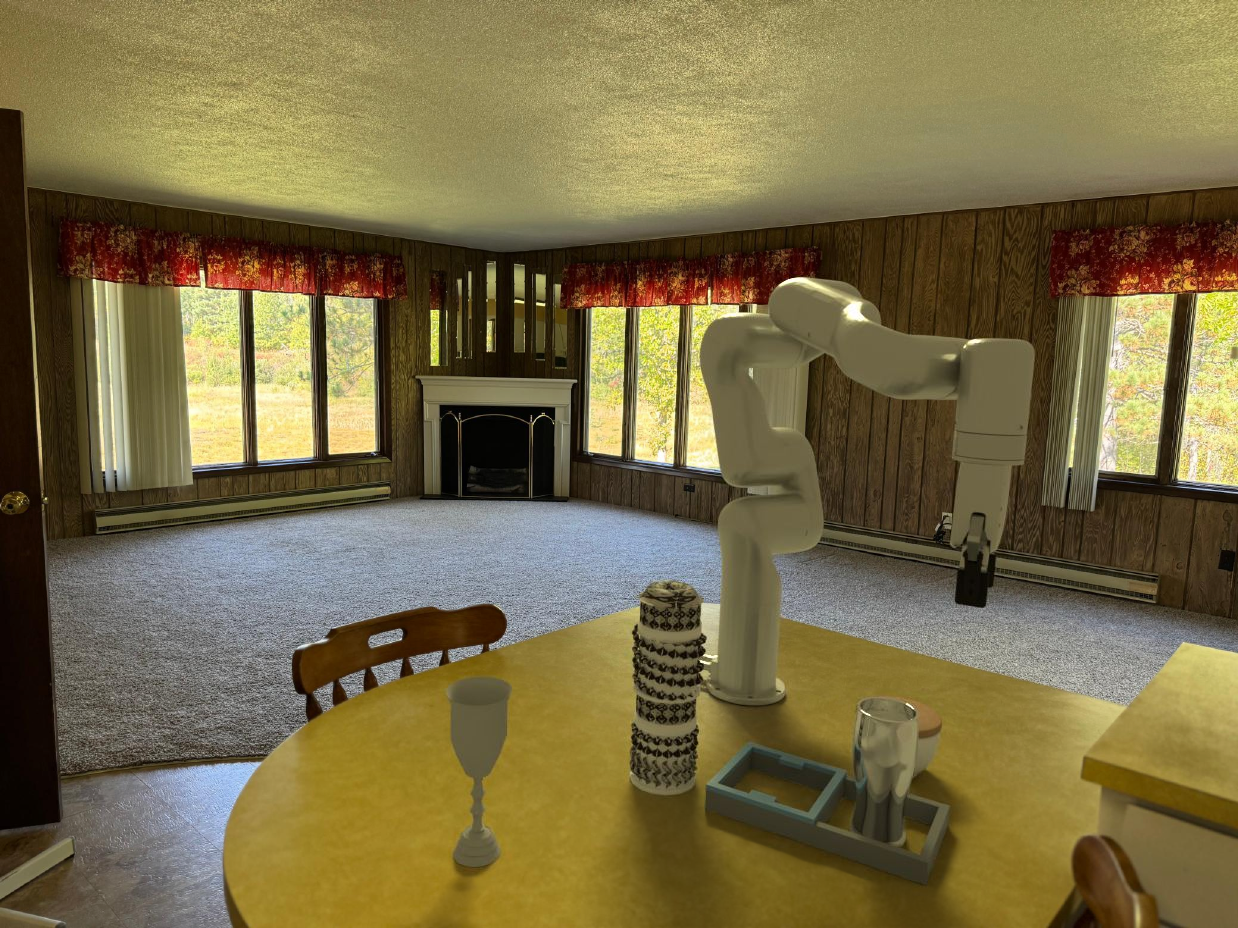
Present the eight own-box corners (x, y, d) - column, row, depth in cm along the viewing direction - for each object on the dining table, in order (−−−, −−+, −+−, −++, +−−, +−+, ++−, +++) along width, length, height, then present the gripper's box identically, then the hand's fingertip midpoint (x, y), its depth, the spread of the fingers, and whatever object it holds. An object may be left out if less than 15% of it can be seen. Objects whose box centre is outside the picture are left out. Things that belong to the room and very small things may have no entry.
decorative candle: (667, 805, 97) (677, 602, 94) (611, 776, 103) (618, 584, 100) (713, 778, 104) (724, 587, 101) (658, 752, 110) (666, 571, 107)
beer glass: (914, 856, 89) (926, 726, 87) (847, 847, 90) (858, 718, 88) (905, 821, 96) (916, 699, 94) (843, 813, 97) (853, 692, 95)
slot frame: (704, 808, 97) (706, 784, 97) (746, 763, 108) (748, 741, 108) (925, 885, 84) (928, 857, 84) (947, 825, 95) (950, 800, 95)
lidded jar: (840, 771, 107) (845, 702, 106) (866, 740, 116) (871, 677, 115) (925, 798, 101) (931, 726, 100) (945, 764, 110) (952, 697, 109)
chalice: (448, 832, 90) (450, 676, 88) (510, 831, 91) (514, 676, 89) (439, 874, 83) (441, 705, 81) (507, 872, 84) (510, 705, 81)
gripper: (961, 440, 102) (949, 573, 105) (943, 452, 87) (929, 608, 89) (1028, 445, 99) (1014, 583, 101) (1021, 458, 84) (1004, 620, 86)
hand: (974, 594), depth 95 cm, fingers open, 9 cm apart
